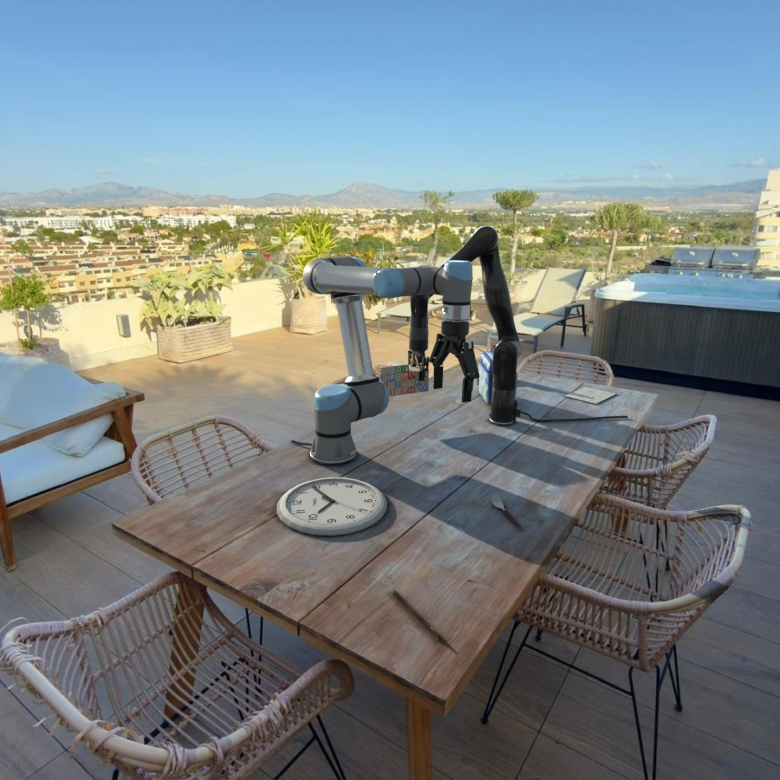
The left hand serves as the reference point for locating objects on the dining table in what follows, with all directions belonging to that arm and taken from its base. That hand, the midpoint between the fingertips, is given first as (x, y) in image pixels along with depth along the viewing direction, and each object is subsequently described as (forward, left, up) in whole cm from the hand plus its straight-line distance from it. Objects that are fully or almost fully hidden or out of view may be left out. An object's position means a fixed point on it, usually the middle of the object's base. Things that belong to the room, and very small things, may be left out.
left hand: (451, 394), depth 147 cm
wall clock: (-26, -24, -28) cm, 45 cm away
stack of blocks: (-33, +50, -18) cm, 63 cm away
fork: (+19, -10, -28) cm, 36 cm away
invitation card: (+37, +112, -28) cm, 121 cm away
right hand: (-29, +56, -13) cm, 64 cm away
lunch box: (-4, +87, -28) cm, 91 cm away
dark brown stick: (+9, -56, -28) cm, 63 cm away
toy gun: (-13, +122, -28) cm, 126 cm away
